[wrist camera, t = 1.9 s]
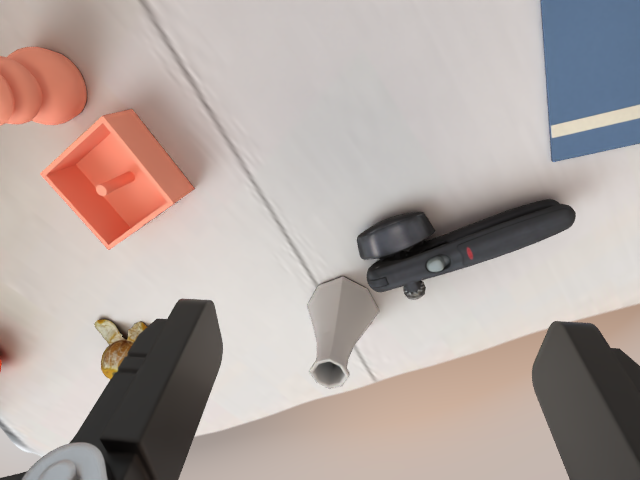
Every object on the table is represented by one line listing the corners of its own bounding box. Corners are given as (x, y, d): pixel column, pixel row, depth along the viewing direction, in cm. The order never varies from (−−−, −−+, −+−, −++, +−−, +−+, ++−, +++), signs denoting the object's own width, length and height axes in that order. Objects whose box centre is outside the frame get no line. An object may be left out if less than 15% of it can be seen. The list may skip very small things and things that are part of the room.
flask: (296, 302, 43) (270, 367, 35) (343, 264, 40) (328, 325, 32) (342, 344, 45) (329, 417, 36) (391, 310, 42) (390, 381, 33)
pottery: (194, 188, 40) (137, 228, 31) (133, 232, 43) (66, 279, 34) (61, 19, 35) (-51, 9, 26) (4, 84, 38) (-111, 94, 30)
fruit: (156, 324, 48) (139, 344, 45) (166, 376, 52) (151, 398, 49) (94, 316, 50) (73, 335, 46) (108, 367, 53) (90, 388, 50)
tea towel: (533, -102, 26) (535, -105, 26) (738, -181, 23) (745, -185, 23) (551, 160, 33) (553, 162, 33) (713, 125, 30) (717, 127, 30)
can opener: (375, 284, 41) (372, 317, 36) (353, 223, 38) (346, 249, 33) (567, 240, 36) (596, 271, 31) (556, 166, 33) (584, 187, 28)
